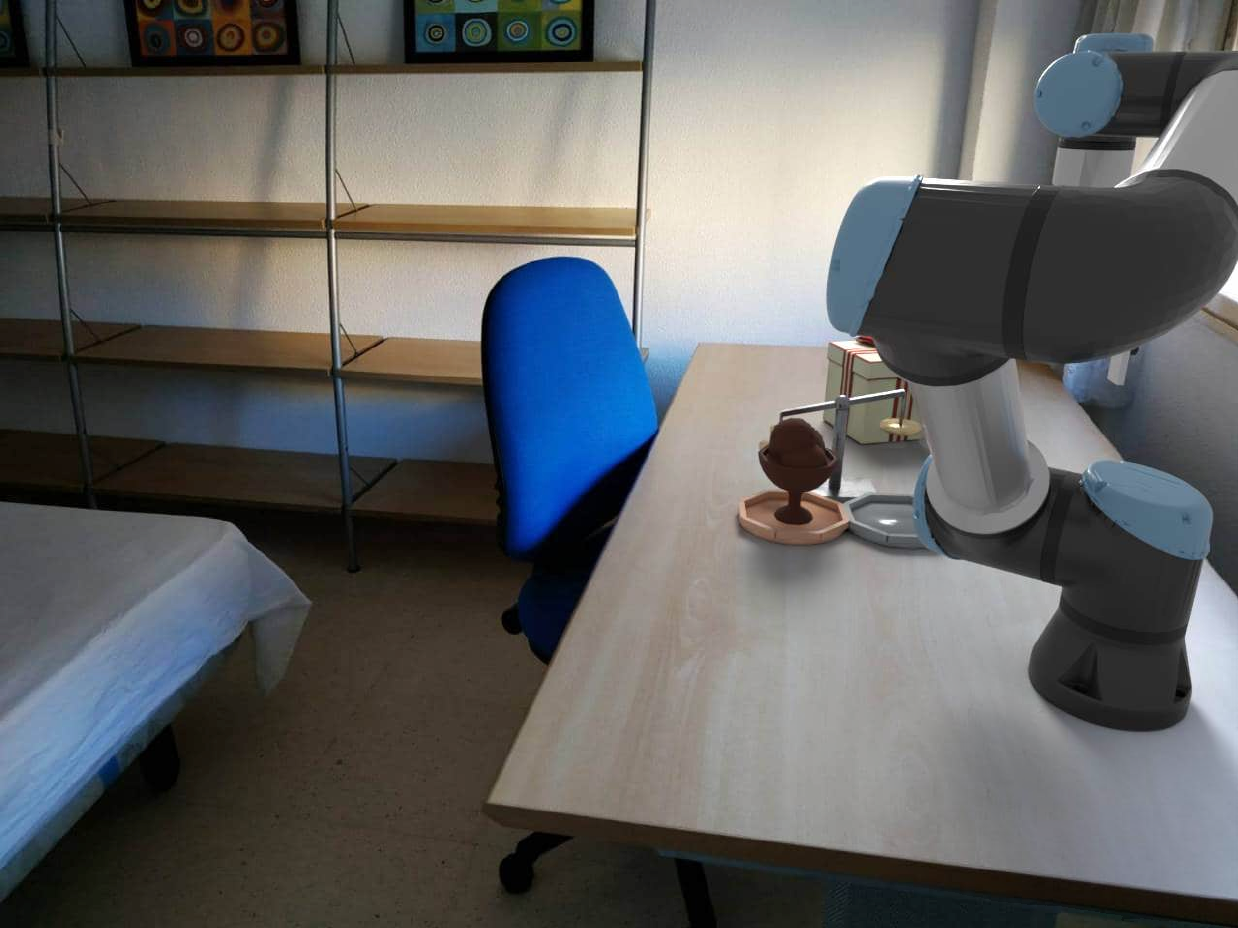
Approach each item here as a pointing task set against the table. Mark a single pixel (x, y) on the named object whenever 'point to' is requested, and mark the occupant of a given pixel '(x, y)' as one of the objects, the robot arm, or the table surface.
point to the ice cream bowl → (796, 465)
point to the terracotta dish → (763, 524)
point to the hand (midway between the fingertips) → (1054, 380)
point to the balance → (837, 485)
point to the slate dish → (884, 519)
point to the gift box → (866, 391)
